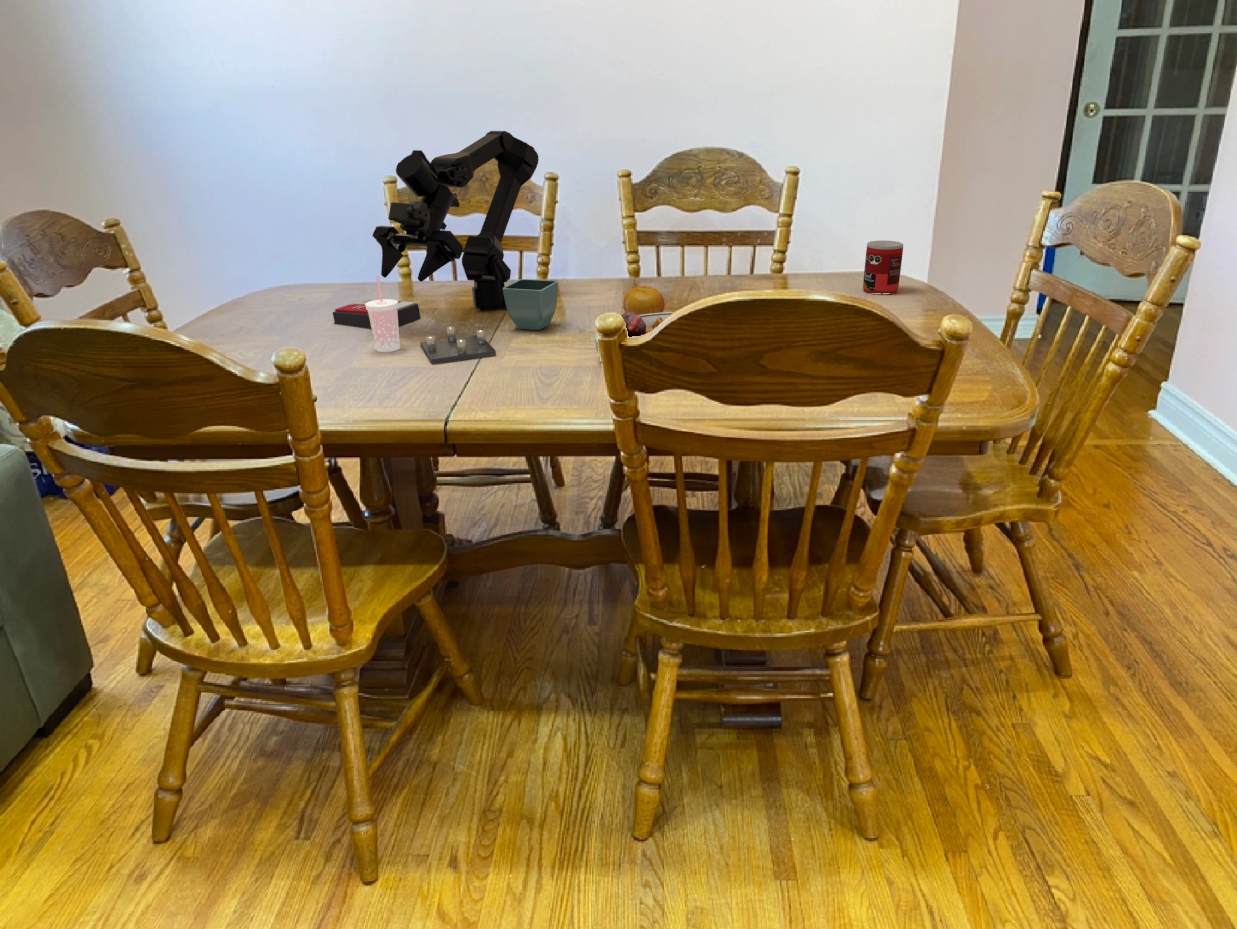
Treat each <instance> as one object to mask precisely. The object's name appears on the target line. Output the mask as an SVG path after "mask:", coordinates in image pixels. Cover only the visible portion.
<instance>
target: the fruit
mask: <svg viewBox="0 0 1237 929" xmlns="http://www.w3.org/2000/svg"><path fill="white" fill-rule="evenodd" d="M622 302H623V309H624V310H623V311H624V313H627V312H632V313H636V314H637V315H643V314H651V313H664V310H665V306H666V304H665V299H664V296H663V294H662V293H661V292H660V291H659V290H658V289H657V288H655V287H652V286H647V285H640V286H635V287H633V288H632V289H630V290H628V292H626V294H625V295H624V298H623V301H622Z"/></svg>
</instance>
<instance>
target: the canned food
mask: <svg viewBox="0 0 1237 929" xmlns="http://www.w3.org/2000/svg"><path fill="white" fill-rule="evenodd" d="M903 253H904V243H902V242H900V241H894V240H873V241H872V240H871V241H868V242H867V245H866V251H865V259H864V260H865V262H864V268H863V269H864V271H863V280H862V290H863V292H864V291H865V292H864V293H866V292H867V293H866V294H869V293H881V294H882V293H895V294H896V293H898V291H899V286H900V277H901V270H902V261H903Z"/></svg>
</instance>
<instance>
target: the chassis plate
mask: <svg viewBox="0 0 1237 929" xmlns="http://www.w3.org/2000/svg"><path fill="white" fill-rule="evenodd" d="M446 335H447V338H441V339H436V336H435V335H426V336H425V338H426V341H420V342H419V343H420V344H419V345H420V348H421V349H422V351H423V353H424V355H425V356H426V357H427V359H428V361H429V362H430V363H431V365H438V364H445V363H452V362H460V361H468V360H474V359H475V360H476V359H483V358H489V357H490V358H491V357H496V356H497V352H496V349H495V348H494V347H493V346H492V345H491V344H490V343H489V342H488V340H487V339H486V338H487V337H486V329H485V328H483V329H482V328H480V329H477V330H476V334H472V335H466V336H456V335H457V334H456V327H455V326H453V325H452V326H451V325H449V326H446Z"/></svg>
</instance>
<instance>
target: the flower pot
mask: <svg viewBox="0 0 1237 929" xmlns="http://www.w3.org/2000/svg"><path fill="white" fill-rule="evenodd" d="M558 285H559V281H558V280H551V279H549V280H548V279H530V278H529V279H528V278H520V279H518V280H516V281H514V282H512V283H510V284H508V285H506V286H505V287H504V288H503V294H504V298H505V303H506V307H507V308H506V309H507V310H506V311H507V313H508V316H509V317H510V319H511V322H512V323H513V324H514V325H515V326H516V328H517V329H519V330H533V331H534V330H535V331H540V330H542V329H544V328H545V327H547V326H549V325H550V324H551V321H552V319H553V317H554V315H555V312H556V309H557V303H558V290H559V288H558V287H559V286H558Z"/></svg>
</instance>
